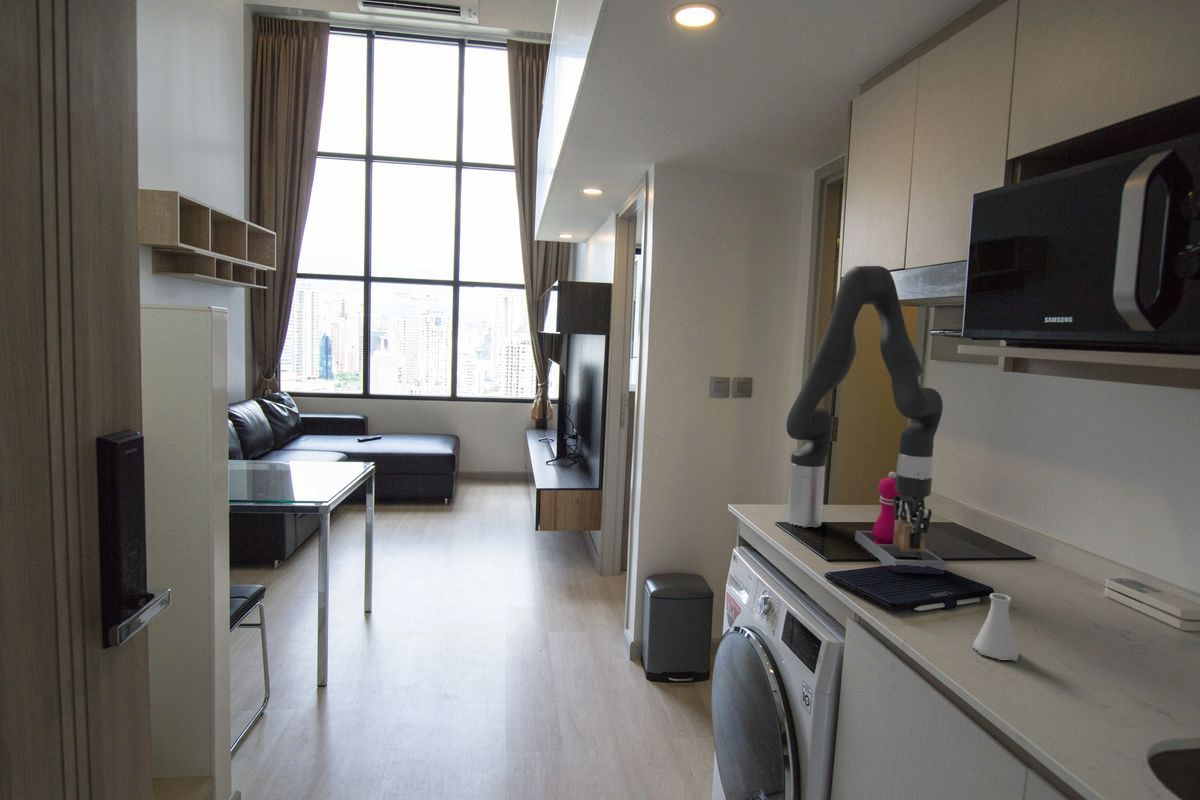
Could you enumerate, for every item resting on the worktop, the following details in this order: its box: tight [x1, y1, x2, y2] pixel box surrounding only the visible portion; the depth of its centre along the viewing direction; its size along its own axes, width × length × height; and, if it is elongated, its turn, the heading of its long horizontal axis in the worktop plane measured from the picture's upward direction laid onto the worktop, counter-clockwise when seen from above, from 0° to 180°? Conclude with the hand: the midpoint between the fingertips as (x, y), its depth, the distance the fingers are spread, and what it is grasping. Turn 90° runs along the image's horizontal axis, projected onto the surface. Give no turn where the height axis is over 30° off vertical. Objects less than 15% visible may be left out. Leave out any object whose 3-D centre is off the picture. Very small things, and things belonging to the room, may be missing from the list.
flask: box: [971, 592, 1020, 661], centre depth 115 cm, size 7×7×10 cm
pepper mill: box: [872, 471, 901, 545], centre depth 167 cm, size 7×7×20 cm
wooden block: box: [893, 520, 927, 552], centre depth 157 cm, size 5×5×6 cm
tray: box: [854, 530, 946, 571], centre depth 163 cm, size 22×12×3 cm, turn 1°
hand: (908, 544), depth 157 cm, fingers closed on wooden block, 5 cm apart
